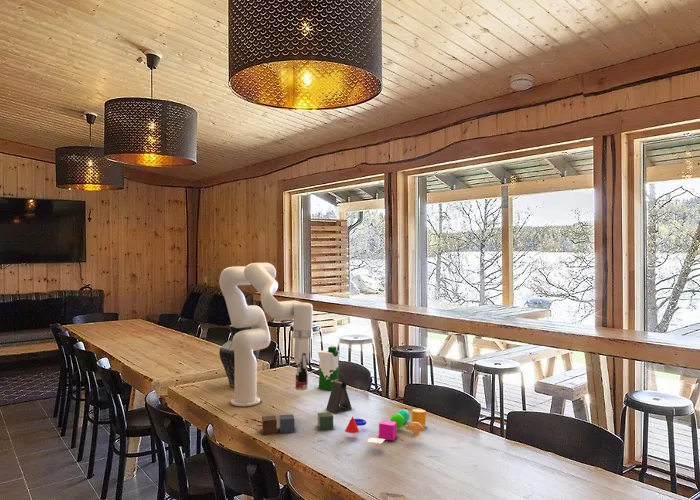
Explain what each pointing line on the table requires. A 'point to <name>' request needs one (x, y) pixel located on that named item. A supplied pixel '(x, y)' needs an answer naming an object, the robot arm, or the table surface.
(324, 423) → the dark green block
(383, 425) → the shape set
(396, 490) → the table surface
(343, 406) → the phone stand
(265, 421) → the walnut block
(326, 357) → the milk carton
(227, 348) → the jug
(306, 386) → the pill bottle
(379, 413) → the table surface
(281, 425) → the slate blue block
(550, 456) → the table surface
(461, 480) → the table surface
